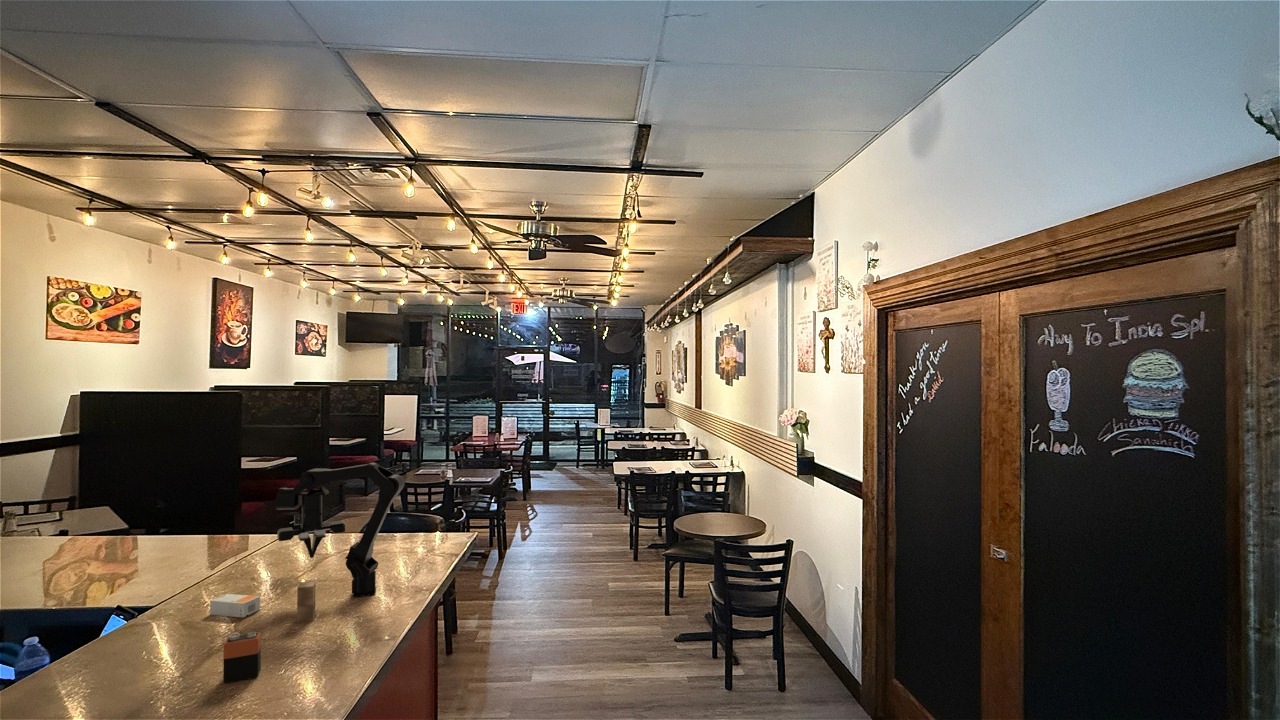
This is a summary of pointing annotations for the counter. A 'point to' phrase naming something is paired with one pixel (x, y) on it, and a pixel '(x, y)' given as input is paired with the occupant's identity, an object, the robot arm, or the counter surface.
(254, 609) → the skincare box
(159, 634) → the counter surface
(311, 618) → the walnut block
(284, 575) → the counter surface
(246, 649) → the battery
